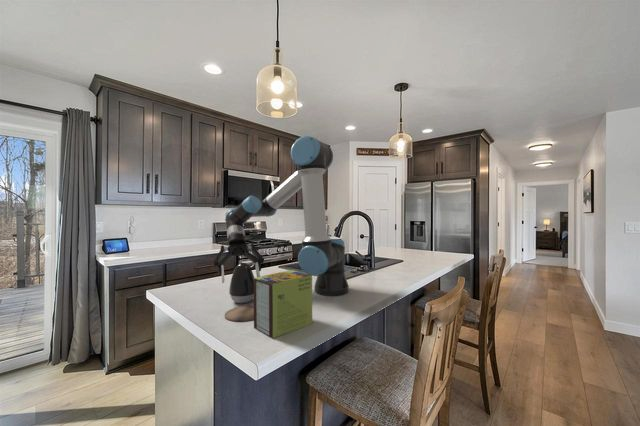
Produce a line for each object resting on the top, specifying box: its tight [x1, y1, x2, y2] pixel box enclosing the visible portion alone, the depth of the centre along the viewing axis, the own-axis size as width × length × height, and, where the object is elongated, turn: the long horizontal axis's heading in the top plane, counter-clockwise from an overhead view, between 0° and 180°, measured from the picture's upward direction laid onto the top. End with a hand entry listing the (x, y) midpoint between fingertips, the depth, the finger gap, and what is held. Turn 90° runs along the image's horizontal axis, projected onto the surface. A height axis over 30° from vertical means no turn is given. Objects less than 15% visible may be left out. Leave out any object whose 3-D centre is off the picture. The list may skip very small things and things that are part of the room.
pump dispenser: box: [228, 262, 256, 304], centre depth 109 cm, size 10×10×15 cm
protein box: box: [253, 269, 313, 339], centre depth 86 cm, size 10×15×16 cm
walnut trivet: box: [224, 305, 254, 323], centre depth 95 cm, size 13×13×1 cm
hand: (241, 279), depth 109 cm, fingers open, 13 cm apart
